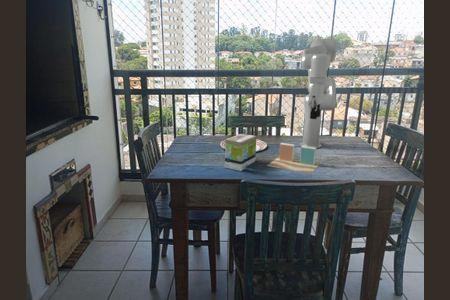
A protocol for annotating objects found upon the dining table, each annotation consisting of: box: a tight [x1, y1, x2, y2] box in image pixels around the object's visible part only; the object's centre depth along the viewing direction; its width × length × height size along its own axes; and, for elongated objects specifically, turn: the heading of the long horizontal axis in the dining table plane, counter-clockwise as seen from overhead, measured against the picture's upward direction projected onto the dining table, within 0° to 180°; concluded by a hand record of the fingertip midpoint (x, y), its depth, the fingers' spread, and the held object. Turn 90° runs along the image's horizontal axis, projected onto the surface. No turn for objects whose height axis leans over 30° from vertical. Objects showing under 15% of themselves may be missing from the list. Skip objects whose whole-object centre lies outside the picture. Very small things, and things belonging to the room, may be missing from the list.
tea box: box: [224, 133, 257, 172], centre depth 161 cm, size 15×10×15 cm
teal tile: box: [299, 146, 317, 165], centre depth 161 cm, size 2×7×8 cm, turn 60°
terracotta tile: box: [278, 142, 296, 162], centre depth 166 cm, size 2×7×8 cm, turn 60°
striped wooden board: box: [266, 156, 320, 175], centre depth 161 cm, size 16×22×1 cm
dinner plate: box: [220, 138, 268, 153], centre depth 191 cm, size 28×27×3 cm
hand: (314, 117), depth 162 cm, fingers open, 4 cm apart
